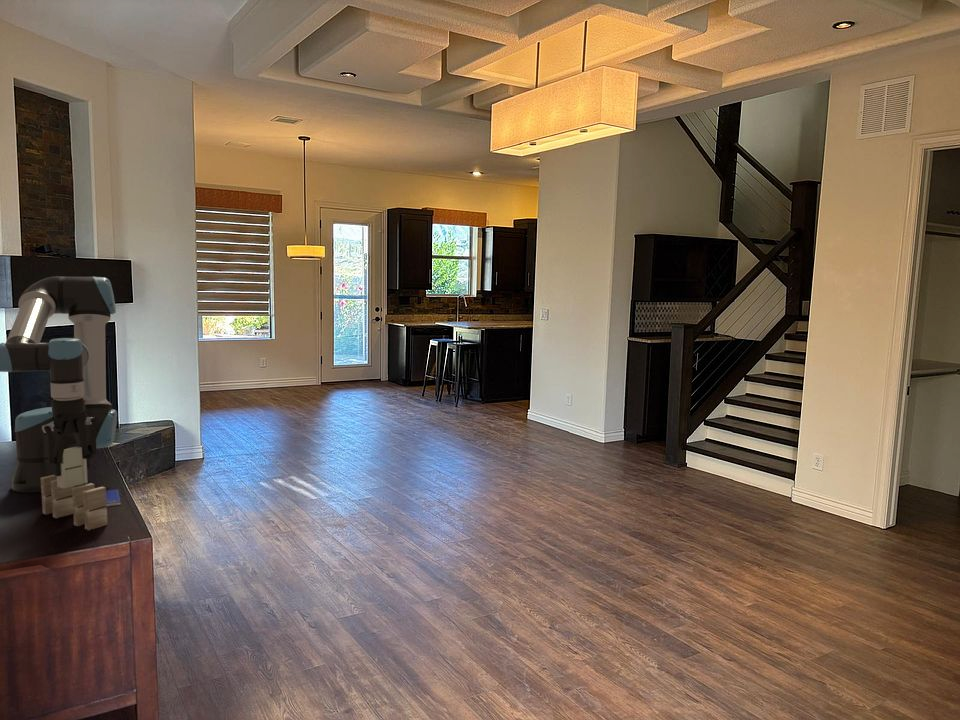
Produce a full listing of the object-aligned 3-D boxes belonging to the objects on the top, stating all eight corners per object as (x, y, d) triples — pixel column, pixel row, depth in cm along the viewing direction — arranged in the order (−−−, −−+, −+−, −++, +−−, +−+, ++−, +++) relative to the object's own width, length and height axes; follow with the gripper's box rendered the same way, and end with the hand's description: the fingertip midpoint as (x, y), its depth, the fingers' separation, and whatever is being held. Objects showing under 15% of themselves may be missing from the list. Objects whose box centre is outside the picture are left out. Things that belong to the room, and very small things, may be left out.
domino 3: (52, 517, 188) (50, 481, 187) (71, 511, 192) (69, 476, 191) (56, 518, 187) (54, 482, 186) (75, 513, 191) (73, 477, 190)
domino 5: (84, 529, 180) (83, 491, 179) (103, 523, 185) (102, 486, 183) (88, 530, 179) (86, 492, 178) (107, 524, 184) (105, 487, 182)
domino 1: (42, 513, 190) (40, 477, 189) (61, 508, 195) (59, 473, 193) (46, 514, 190) (43, 478, 188) (64, 509, 194) (62, 474, 192)
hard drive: (120, 501, 199) (118, 489, 209) (87, 505, 195) (86, 492, 205) (120, 506, 199) (118, 494, 209) (87, 510, 195) (86, 497, 205)
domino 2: (61, 487, 184) (59, 450, 183) (80, 482, 188) (78, 446, 187) (64, 488, 183) (62, 451, 182) (83, 483, 187) (81, 447, 186)
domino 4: (73, 525, 183) (72, 487, 181) (92, 519, 187) (91, 483, 186) (77, 526, 182) (75, 489, 181) (96, 520, 186) (94, 484, 185)
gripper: (39, 404, 173) (44, 496, 176) (109, 394, 188) (113, 478, 191) (23, 401, 177) (28, 490, 180) (93, 391, 192) (97, 474, 195)
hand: (72, 484), depth 186 cm, fingers closed on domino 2, 5 cm apart
